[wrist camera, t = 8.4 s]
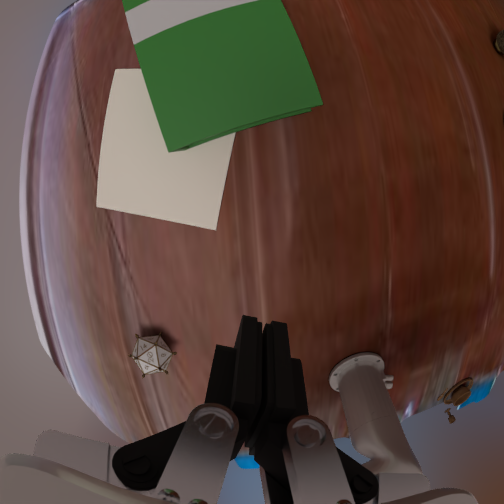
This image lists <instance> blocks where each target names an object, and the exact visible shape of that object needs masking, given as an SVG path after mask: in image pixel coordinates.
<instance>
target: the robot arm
mask: <svg viewBox="0 0 504 504" xmlns="http://www.w3.org/2000/svg"><path fill="white" fill-rule="evenodd" d="M393 378H394V377H393V375H385V374H384V362H383V360H382V358H381V357H380V356H379V355H377V354H375V353H369V352H366V353H359V354H355V355H352V356H350V357H348V358H346V359H344V360H342V361H341V362H340V363H338V364H337V365H336V366H335V367H334V368H333V370H332V371H331V373H330V375H329V382H330V386H331V387H332V388H333V389H334V390H335V391H338V392H340V396H341V400H342V404H343V408H344V412H345V416H346V420H347V425H348V429H349V433H350V438H351V442H352V445H353V447H354V448H355V450H356V451H357V452H359V453H360V454H362V455H364V456H366V457H368V458H370V459H371V460H370V461H369V462H366V463H364V464H362V465H361V464H359V463H358V462H356V461H355V460H354V459H352V458H351V457H349V456H348V455H346V454H345V453H344V452H342V451H341V450H340V449H338V448H337V447H336V446H335V443H334V441H333V437H332V434H331V432H330V429H329V428H328V426H327V425H326V424H325V423H324V422H323V421H322V420H320V419H319V418H317V417H314V416H311V415H309V413H308V406H307V398H306V391H305V384H304V377H303V370H302V363H301V360H300V359H296V358H291V355H290V346H289V338H288V329H287V324H286V323H282V322H276V321H272V322H271V324H267V323H266V324H265V327H264V330H263V333H262V322H257V318H256V317H251V316H246V315H243V316H242V320H241V323H240V327H239V331H238V335H237V338H236V342H235V346H234V348H232V347H227V346H222V345H217V344H216V349H215V354H214V359H213V363H212V368H211V373H210V378H209V383H208V388H207V393H206V398H205V403H204V404H201V405H198V406H197V407H195V408H194V409H193V410H192V411H191V413H190V414H189V417H188V419H187V421H185V422H183V423H181V424H178V425H176V426H174V427H171V428H169V429H167V430H164V431H162V432H159V433H157V434H155V435H152V436H150V437H147V438H144V439H142V440H139V441H136V442H134V443H131V444H128V445H125V446H123V447H116V446H111V445H109V443H105V442H100V441H95V440H91V439H86V438H82V437H78V436H74V435H70V434H66V433H63V432H59V431H55V430H47V431H43V432H42V433H41V434H40V435H39V436H38V438H37V440H36V445H35V449H34V454H33V456H31V455H26V454H7V455H4V456H2V457H1V458H0V504H217V501H218V498H219V495H220V491H221V488H222V485H223V481H224V478H225V475H226V471H227V468H228V465H229V462H230V461H231V460H233V459H234V458H236V456H237V454H238V452H239V450H240V449H241V447H242V445H243V443H244V441H245V447H249V455H254V460H255V461H256V462H257V463H258V464H259V465H260V476H261V481H262V488H263V494H264V500H265V504H478V502H477V500H476V498H475V497H474V496H473V495H472V494H471V493H470V492H468V491H466V490H463V489H457V488H441V489H435V490H430V483H429V480H428V479H427V477H426V476H424V475H423V474H422V470H421V466H420V464H419V462H418V460H417V458H416V456H415V455H414V453H413V451H412V449H411V447H410V446H409V443H408V441H407V439H406V437H405V434H404V432H403V429H402V427H401V424H400V421H399V419H398V416H397V413H396V411H395V408H394V406H393V403H392V400H391V398H390V395H389V393H388V390H387V389H391V388H392V386H393V383H392V380H393Z"/></svg>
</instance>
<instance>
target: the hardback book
mask: <svg viewBox="0 0 504 504" xmlns="http://www.w3.org/2000/svg"><path fill="white" fill-rule="evenodd" d="M122 2H123V6H124V10H125V14H126V18H127V21H128V25H129V29H130V33H131V36H132V40H133V43H134V47H135V50H136V54H137V57H138V61H139V64H140V67H141V71H142V74H143V77H144V80H145V84H146V87H147V90H148V93H149V96H150V99H151V102H152V106H153V109H154V112H155V115H156V118H157V121H158V124H159V127H160V130H161V133H162V135H163V138H164V141H165V144H166V147H167V150H168V153H170V152H177V151H185V150H187V149H190V148H193V147H195V146H198V145H200V144H203V143H206V142H209V141H211V140H214V139H217V138H220V137H223V136H226V135H229V134H232V133H235V132H238V131H241V130H244V129H247V128H251V127H254V126H257V125H261V124H264V123H268V122H271V121H275V120H278V119H282V118H286V117H290V116H294V115H298V114H302V113H306V112H310V111H311V108H312V107H316V106H321V105H323V102H322V99H321V96H320V93H319V90H318V87H317V85H316V82H315V79H314V76H313V74H312V71H311V68H310V66H309V63H308V60H307V58H306V55H305V53H304V50H303V48H302V46H301V43H300V41H299V38H298V36H297V34H296V32H295V29H294V27H293V25H292V23H291V20H290V18H289V16H288V14H287V12H286V10H285V8H284V6H283V4H282V2H281V0H122Z"/></svg>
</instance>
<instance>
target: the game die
mask: <svg viewBox="0 0 504 504" xmlns="http://www.w3.org/2000/svg"><path fill="white" fill-rule="evenodd" d="M161 334H162V331H161V332H159V335H156V336H147V337H139V336H138V335H137V334H135V337H137V338H138V339H137V341H136V344H135V347H134V350H133V353H132V355H131V354H129V355H128V356H129V357H132V358H133V359H134V361H135V362H136V364H137V365H138V367H139V368H140V370H141V371H142V372H143V375H142V378H144V377H145V374H152V373H159V372H165V373H166V374H168V372H167V371H166V369H167V367H168V364H169V362H170V360H171V357H172V355H173V354H174V355H176V354H177V353H176V352H172V351H171V350H170V348H169V347H168V346H167V344H166V343H165V342H164V340H163V339H162V337H161Z"/></svg>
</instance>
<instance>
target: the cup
mask: <svg viewBox="0 0 504 504" xmlns="http://www.w3.org/2000/svg"><path fill="white" fill-rule="evenodd" d="M493 44H494V47H495V49H496V51H497V52H498V53H499V54H501V55H504V30H502V31H500V32H499V33H498V34H497V38H496V39H495V40H494V42H493Z"/></svg>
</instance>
